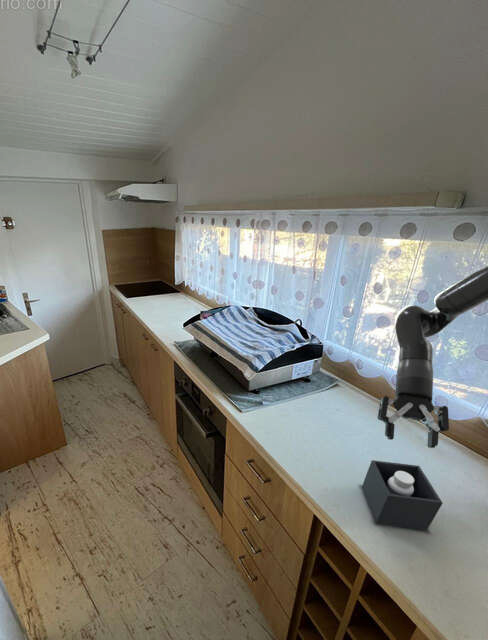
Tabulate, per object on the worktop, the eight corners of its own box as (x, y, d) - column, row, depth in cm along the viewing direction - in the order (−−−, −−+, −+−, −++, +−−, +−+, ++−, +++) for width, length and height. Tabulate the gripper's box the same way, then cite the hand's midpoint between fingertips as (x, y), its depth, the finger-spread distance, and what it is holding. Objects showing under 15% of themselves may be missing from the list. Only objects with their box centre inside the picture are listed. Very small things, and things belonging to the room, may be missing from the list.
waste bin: (406, 492, 82) (419, 465, 78) (426, 531, 73) (442, 503, 68) (361, 486, 84) (371, 460, 80) (375, 523, 75) (388, 495, 70)
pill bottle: (393, 493, 81) (405, 467, 76) (410, 511, 76) (423, 483, 72) (375, 496, 80) (386, 470, 76) (391, 514, 75) (403, 487, 71)
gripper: (387, 371, 77) (382, 435, 73) (456, 380, 72) (454, 449, 68) (377, 379, 84) (372, 438, 80) (439, 388, 79) (437, 451, 75)
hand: (410, 443), depth 74 cm, fingers open, 8 cm apart
